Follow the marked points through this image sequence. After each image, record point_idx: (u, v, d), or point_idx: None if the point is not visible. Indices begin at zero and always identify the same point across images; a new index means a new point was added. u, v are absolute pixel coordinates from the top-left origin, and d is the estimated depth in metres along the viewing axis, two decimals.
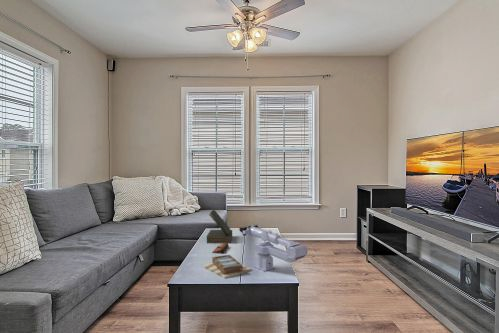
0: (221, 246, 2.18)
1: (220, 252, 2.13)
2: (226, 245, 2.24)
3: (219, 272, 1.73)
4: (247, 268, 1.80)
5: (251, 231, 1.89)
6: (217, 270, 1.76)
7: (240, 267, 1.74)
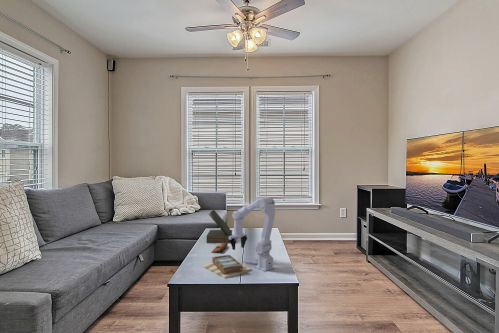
0: (220, 246, 2.18)
1: (219, 252, 2.13)
2: (225, 245, 2.25)
3: (219, 272, 1.73)
4: (247, 268, 1.80)
5: (234, 233, 1.97)
6: (217, 270, 1.76)
7: (240, 267, 1.74)
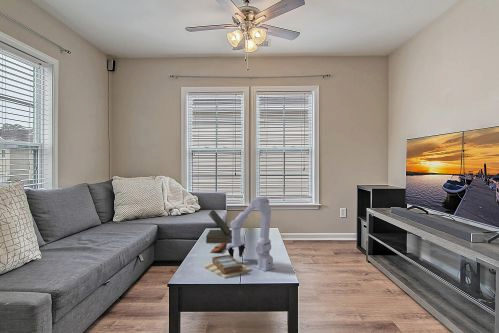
0: (219, 246, 2.19)
1: (218, 252, 2.13)
2: (224, 245, 2.25)
3: (219, 272, 1.73)
4: (247, 268, 1.80)
5: (232, 242, 1.96)
6: (217, 270, 1.76)
7: (240, 267, 1.74)
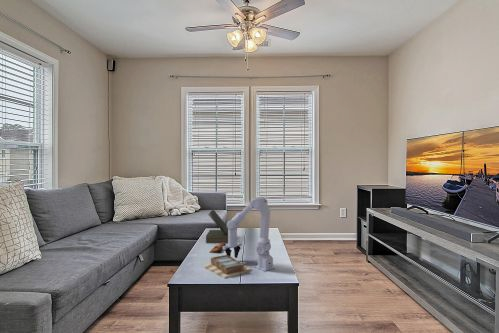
0: (218, 246, 2.19)
1: (217, 252, 2.13)
2: (223, 245, 2.25)
3: (219, 272, 1.73)
4: (247, 268, 1.80)
5: (228, 242, 1.94)
6: (217, 270, 1.76)
7: (241, 267, 1.75)
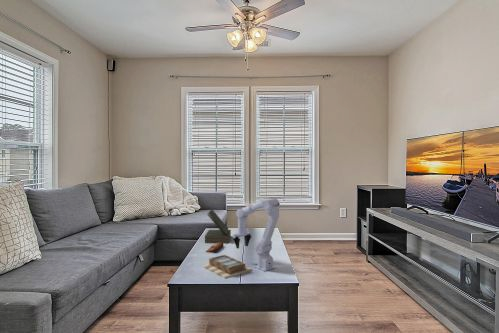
0: (215, 246, 2.20)
1: (213, 251, 2.14)
2: (220, 245, 2.25)
3: (219, 272, 1.73)
4: (247, 268, 1.80)
5: (238, 231, 1.95)
6: (217, 270, 1.76)
7: (243, 266, 1.77)
